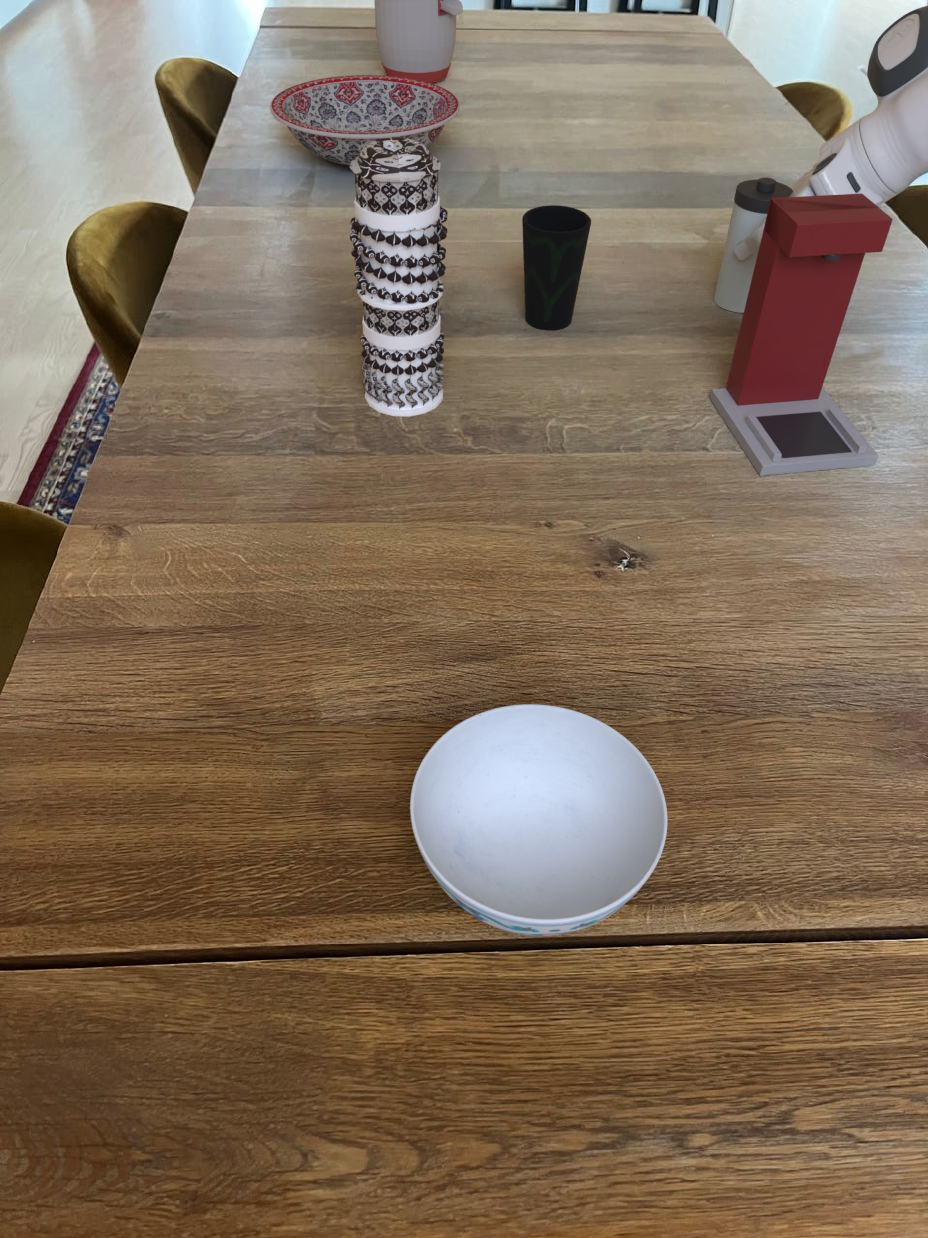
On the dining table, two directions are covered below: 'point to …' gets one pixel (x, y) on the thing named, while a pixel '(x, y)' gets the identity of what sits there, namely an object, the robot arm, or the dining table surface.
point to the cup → (553, 263)
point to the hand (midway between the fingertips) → (747, 241)
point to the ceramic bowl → (362, 113)
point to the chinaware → (538, 818)
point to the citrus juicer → (416, 37)
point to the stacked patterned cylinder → (399, 274)
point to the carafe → (744, 221)
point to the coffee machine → (799, 335)
